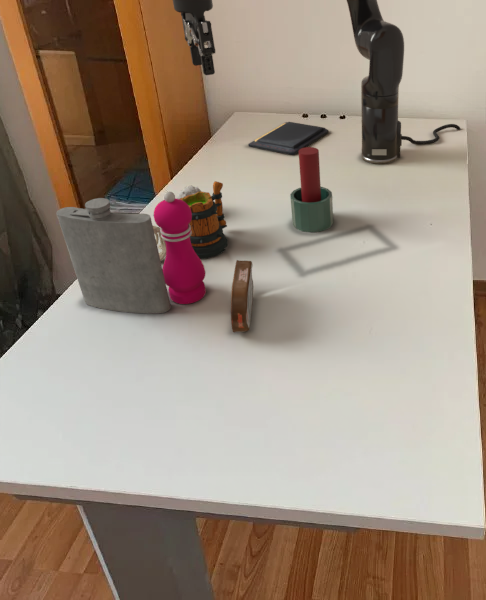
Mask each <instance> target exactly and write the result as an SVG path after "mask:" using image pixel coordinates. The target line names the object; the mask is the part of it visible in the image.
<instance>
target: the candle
mask: <svg viewBox="0 0 486 600" xmlns="http://www.w3.org/2000/svg"><path fill="white" fill-rule="evenodd" d="M298 164H299V178H300V188H301V194H302V202H308V203H309V202H318V201H321V187H322V186H321V169H320V168H321V167H320V150H319V149H318V148H317V147H315V146H314V147H313V146H307V147H305V148H301V149H300V150H299V153H298Z"/></svg>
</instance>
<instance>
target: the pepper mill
mask: <svg viewBox="0 0 486 600" xmlns="http://www.w3.org/2000/svg"><path fill="white" fill-rule="evenodd" d="M153 219H154V222H155V224H156V226H157V227H159V228H160V233H161V237H162V239H164V240H165V243H166V256H165V257H164V262H163V265H162V270H163V274H164V279H165V283H166V287H168V288H167V291H168V296H169V299H170V300H171V301H172V302H173V303H176V304H179V305H189V304H193V303H196V302H199V301H201V300H202V299H203V298H204V297H205V296H206V293H207V289H206V284H205V282H204V280H205V278H206V269H205V265H204V264H203V261H202V259H200V258H199V257H198V256H197V254H196V253H195V251H194V249H193V247H192V245H191V241H190V236H191V234H192V231H191V226H190V224H189V223H190V221H191V219H192V213H191V209H190V207H189V206H188V204H187V203H186V202H184V201H182V200H180V199H177V197H176V194H175V193H174V192H172V191H166V192H164V194H163V199H162V201H159V202H158V203H157V205H155V207H154V210H153Z"/></svg>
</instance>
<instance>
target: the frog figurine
mask: <svg viewBox="0 0 486 600" xmlns="http://www.w3.org/2000/svg"><path fill="white" fill-rule="evenodd" d="M199 191H202V190H201V189H200V188H199V186H193V185H187V186H185V187H184V188H183V189H181V190H179V192H178V193H177V195H176V199H180V198H183V197H185V196H188V195H191V194H195V193H197V192H199Z"/></svg>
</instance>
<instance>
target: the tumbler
mask: <svg viewBox="0 0 486 600" xmlns="http://www.w3.org/2000/svg"><path fill="white" fill-rule="evenodd" d="M289 197H290V208H291V221H292V226H293V227H294V229H295V230H298V231H299V232H304V233H319V232H323V231H326V230H328V229H330V228H332V226H333V224H334V207H333V206H334V205H333V192H332V191H331V190H330V189H329V188H326V187H324V186H321V201H318V202H309V203H308V202H302V194H301V187H297V188H296V189H294V190H292V191H291V193H290V195H289Z"/></svg>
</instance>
